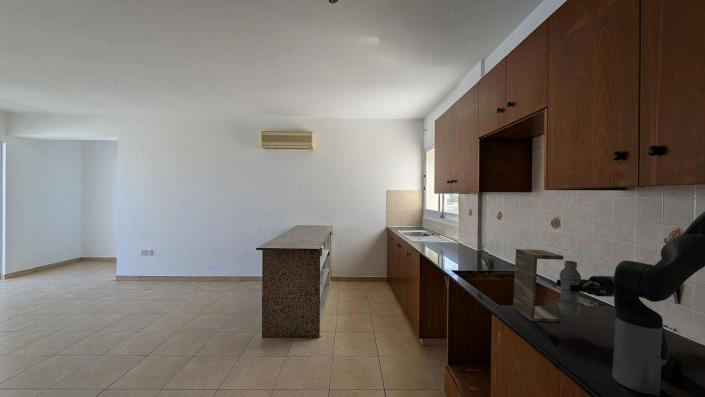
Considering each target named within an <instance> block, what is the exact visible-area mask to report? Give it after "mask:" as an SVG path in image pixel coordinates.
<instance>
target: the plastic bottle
mask: <svg viewBox="0 0 705 397" xmlns="http://www.w3.org/2000/svg"><path fill="white" fill-rule="evenodd" d="M563 266H564V268H563V269H561V271H560V273H559V280H560V282H561V286H560V297H559V302H558V309H559V311H560V313H561V314H564V315H567V316H572V317H573V316H574V317H575V316H576V317H577V316H579V315H580V313H581V305H580V298H579V293H580V292H572V291H570V285H580V281H581V280H582V276H581V274H580V272H579V271H578V269H577V268H578V262H577V261H573V260H565V261H564V264H563Z"/></svg>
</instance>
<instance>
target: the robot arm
mask: <svg viewBox="0 0 705 397" xmlns="http://www.w3.org/2000/svg"><path fill="white" fill-rule="evenodd" d="M660 257H661V258H660V259H659V260H658V261H657V262H656V263H655V264H650V263H644V262H637V261H633V260H622V261H620V262H619V263H618V264H617V265H616V267H615V270H614V274H613V276H612V275H592V276H590V277H589V278H588V279H587V278H586V279H583V278H581V281H580V285H570V291H572V292H579V293H583V294H587V295H593V296H595V297H602V298H603V297H608V298H609V297H612V298H613V305H614V310H615V319H614V320H615V322H614V323H615V324H614V337H613V338H614V340H613V356H612V369H611V372H612V374H611V375H612V376H611V377H612V378H613V380H614V381H616V382H617V383H618V384H620V385H622V386H623V387H626V388H627V389H630V390H632V391H635V392H639V393H642V394H647V395H655V396H657V397H660V395H661V379H662V378H661V377H662V366H661V365H662V360H661V342H662V326H663V322H664V321H663V320H664V319H663V316H662V315H661V314H660V313H659V312H657V311H655V310H653V309H652V308H651V307H649V306H647V305H646V304H645V302H643V301H642V300H641V298H642V299H646V300H647V301H649V302H652V303H657V302H663V301H665V300H668V299H669V298H670V297H672V296H673V295H674V294H675V293H676V291H678V290H679V288H680V287H681V286H682V285H683V284H684V283H685V282H686V281H687V280H688V279H689V278H691V277H692V276H693V275H695V273H697V272H698V271H700V270H701V269H703V268H705V211H703V212H702V213H701V214H699V215H698V216H697V217H696V218H695V219H694V220H693V221H692V222H691V224H689V226H688V227H687V228H686V229H685V231H683V233H682V234H681V235H679V236H677V237H675V238H673V239H671V240H670V241H668V242H666V244H664V245H663V246H662V248H661V250H660ZM556 286H559V287H561V282H560V279H557V280H556ZM663 327H664V326H663Z"/></svg>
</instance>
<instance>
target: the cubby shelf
mask: <svg viewBox="0 0 705 397" xmlns="http://www.w3.org/2000/svg"><path fill="white" fill-rule="evenodd" d="M538 260H559V261H561V260H564V256H563V255H560V254H558V253H554V252H550V251H547V250H544V249H543V250H542V249H524V248H523V249H522V248H521V249H520V248H515V259H514V261H515V263H514V282H513V300H512V301H513V302H512V309H513V310H514V311H516V312H518V313H519V314H520V315H522V316H523V317H525V318H526V319H527V320H529V321H531V322H554V323H555V322H558V323H559V322H561V318H560V317H558V316H556V315H555V314H552V313H551V312H549V311H547V310H545V309H544V308H542V307H541V306H536V292H537V291H536V290H537V273H538V272H537V270H538Z"/></svg>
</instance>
